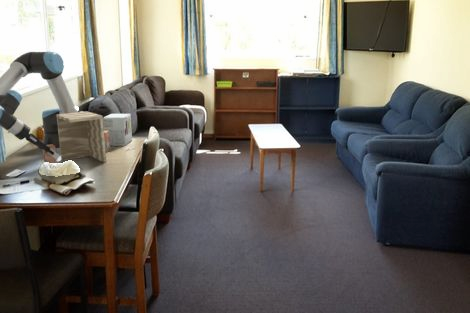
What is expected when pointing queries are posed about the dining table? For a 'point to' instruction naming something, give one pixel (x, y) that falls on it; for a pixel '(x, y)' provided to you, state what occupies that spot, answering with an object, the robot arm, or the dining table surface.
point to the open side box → (81, 135)
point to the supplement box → (118, 129)
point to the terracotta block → (48, 157)
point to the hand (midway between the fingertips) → (56, 156)
